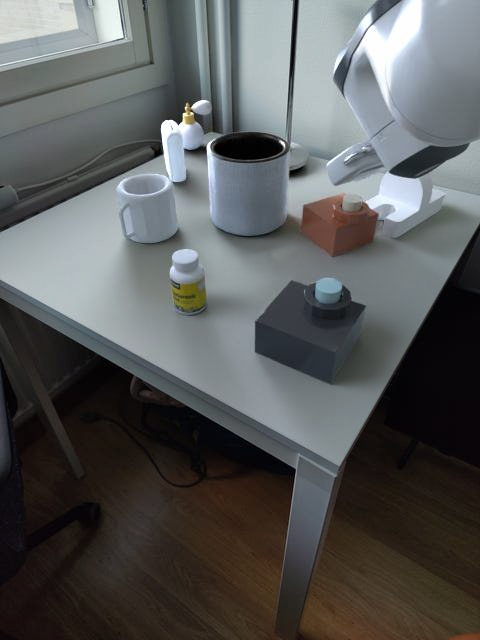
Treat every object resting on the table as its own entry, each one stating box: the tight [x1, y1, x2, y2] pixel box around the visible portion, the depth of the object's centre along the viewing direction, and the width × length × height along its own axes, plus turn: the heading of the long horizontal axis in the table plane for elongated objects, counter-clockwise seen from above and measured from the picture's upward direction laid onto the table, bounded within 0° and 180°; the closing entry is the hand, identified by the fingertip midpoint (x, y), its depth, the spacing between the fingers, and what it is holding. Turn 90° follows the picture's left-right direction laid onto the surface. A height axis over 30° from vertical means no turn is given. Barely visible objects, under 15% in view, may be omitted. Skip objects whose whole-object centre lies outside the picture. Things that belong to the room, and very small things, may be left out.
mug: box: [116, 173, 179, 244], centre depth 90 cm, size 14×11×10 cm
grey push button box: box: [254, 279, 367, 385], centre depth 66 cm, size 12×12×8 cm
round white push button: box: [342, 193, 363, 212], centre depth 84 cm, size 3×3×2 cm
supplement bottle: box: [169, 248, 208, 316], centre depth 73 cm, size 5×5×10 cm
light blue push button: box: [315, 277, 343, 304], centre depth 64 cm, size 4×4×2 cm
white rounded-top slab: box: [160, 119, 187, 183], centre depth 111 cm, size 10×4×12 cm, turn 15°
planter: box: [206, 130, 291, 237], centre depth 92 cm, size 16×16×16 cm
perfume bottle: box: [178, 99, 213, 151], centre depth 124 cm, size 8×10×12 cm
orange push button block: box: [300, 192, 379, 258], centre depth 88 cm, size 11×10×8 cm
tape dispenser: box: [364, 171, 446, 239], centre depth 94 cm, size 10×18×11 cm, turn 132°
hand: (358, 175), depth 80 cm, fingers closed
